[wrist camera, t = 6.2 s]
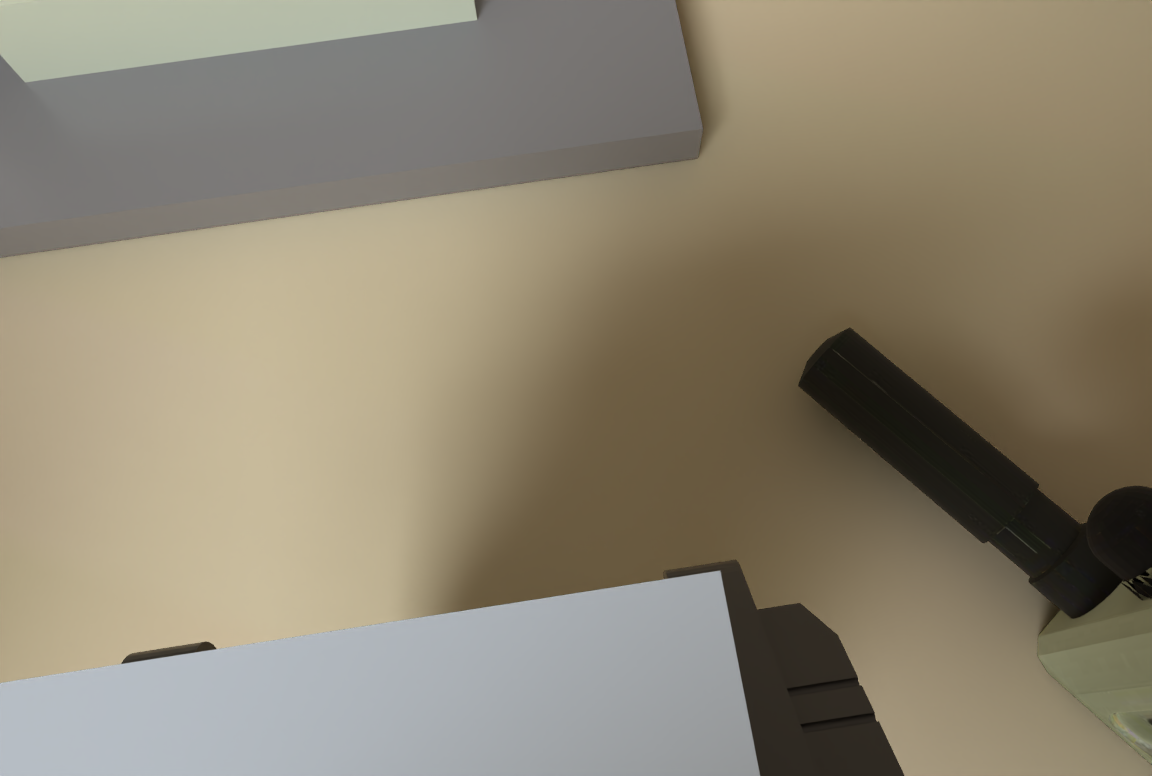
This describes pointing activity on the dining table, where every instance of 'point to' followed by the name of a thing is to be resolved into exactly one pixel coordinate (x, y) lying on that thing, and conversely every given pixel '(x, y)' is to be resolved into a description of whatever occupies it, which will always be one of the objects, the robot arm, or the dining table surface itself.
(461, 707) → the block
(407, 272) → the dining table surface
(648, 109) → the charging dock
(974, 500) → the handheld radio
